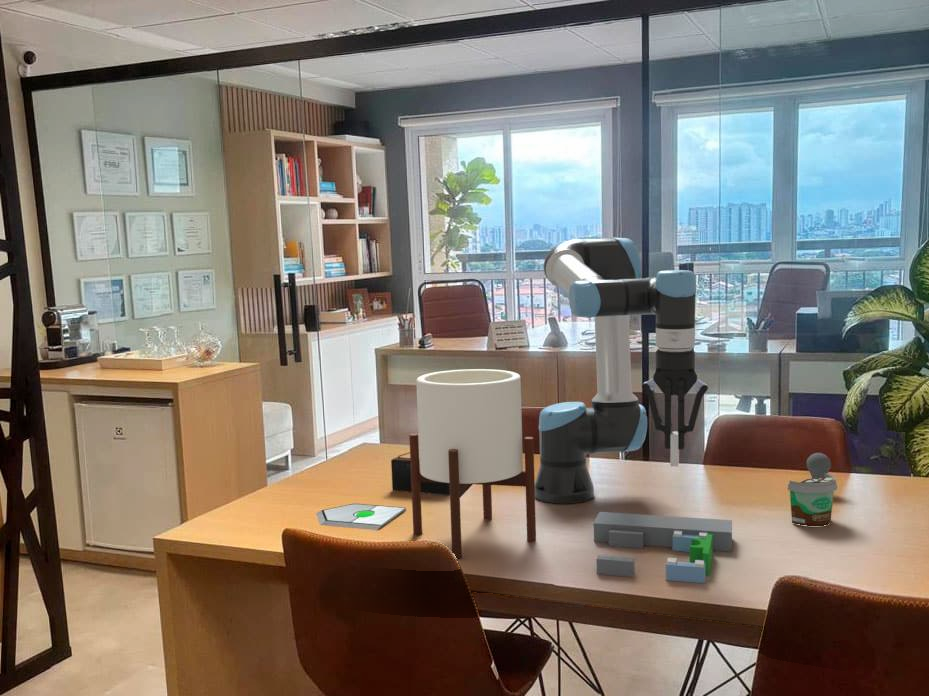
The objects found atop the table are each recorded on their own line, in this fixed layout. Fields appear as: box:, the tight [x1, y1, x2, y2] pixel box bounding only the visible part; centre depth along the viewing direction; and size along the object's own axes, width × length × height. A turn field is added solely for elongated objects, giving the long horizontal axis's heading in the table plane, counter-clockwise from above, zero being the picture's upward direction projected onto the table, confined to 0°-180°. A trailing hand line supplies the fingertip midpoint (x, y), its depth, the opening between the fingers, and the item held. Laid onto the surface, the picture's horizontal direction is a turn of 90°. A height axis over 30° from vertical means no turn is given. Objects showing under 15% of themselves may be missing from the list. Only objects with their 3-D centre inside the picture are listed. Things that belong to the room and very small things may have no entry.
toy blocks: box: [593, 511, 733, 584], centre depth 170 cm, size 28×26×4 cm
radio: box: [390, 451, 450, 496], centre depth 220 cm, size 19×3×15 cm, turn 68°
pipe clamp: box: [689, 534, 713, 577], centre depth 164 cm, size 11×4×5 cm, turn 160°
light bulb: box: [806, 452, 832, 479], centre depth 208 cm, size 6×6×10 cm
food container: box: [787, 473, 838, 527], centre depth 185 cm, size 12×6×10 cm, turn 117°
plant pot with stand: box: [408, 368, 537, 561], centre depth 183 cm, size 22×22×36 cm
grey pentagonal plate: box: [315, 503, 407, 531], centre depth 203 cm, size 17×22×2 cm
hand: (674, 464), depth 169 cm, fingers closed
